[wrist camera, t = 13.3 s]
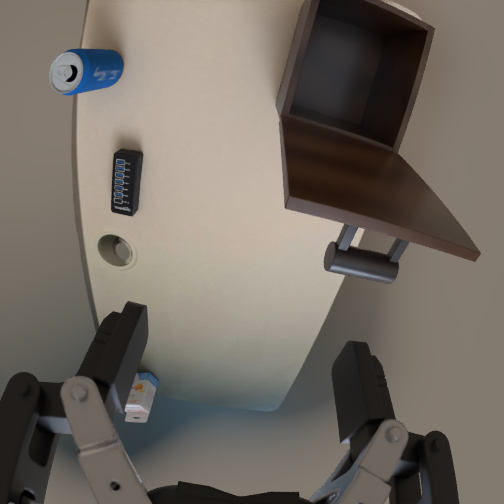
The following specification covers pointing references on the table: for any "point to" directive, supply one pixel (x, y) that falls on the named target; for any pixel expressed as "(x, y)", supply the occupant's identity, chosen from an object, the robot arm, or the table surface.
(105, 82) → the beverage can
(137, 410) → the white cardboard box
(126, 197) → the multiport hub
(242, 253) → the table surface
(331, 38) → the bin
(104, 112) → the table surface
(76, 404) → the robot arm
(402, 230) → the lid
